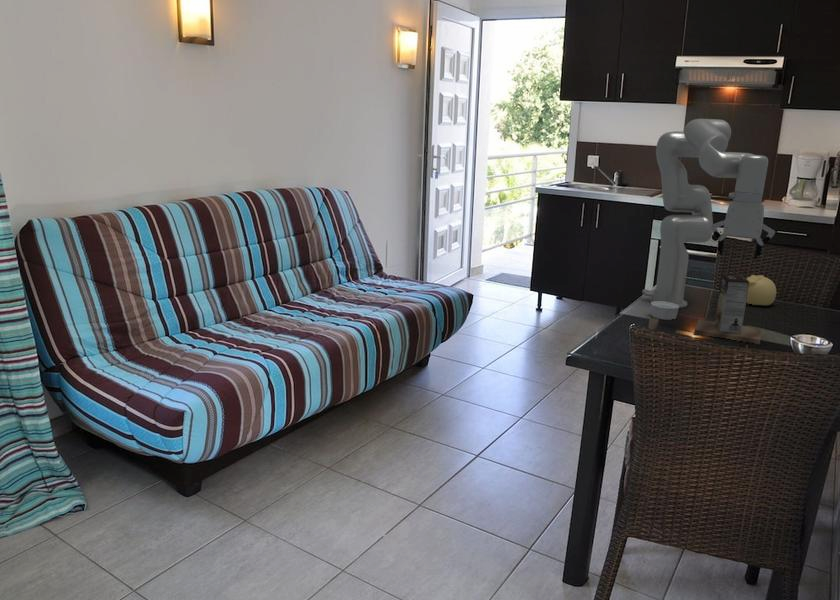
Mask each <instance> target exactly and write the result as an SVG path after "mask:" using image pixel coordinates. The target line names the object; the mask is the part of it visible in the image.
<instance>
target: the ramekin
mask: <svg viewBox="0 0 840 600" xmlns="http://www.w3.org/2000/svg"><path fill="white" fill-rule="evenodd" d="M650 307H651V308H650V316H651V317H653V318H655V319H656V320H657V319H658V320H663V321H672V319H674V320H675V319H676V318H677V316H678V312H679V309H680V308H679V305H677V304H674V303H670V302H663V301H655V302H650Z"/></svg>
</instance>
